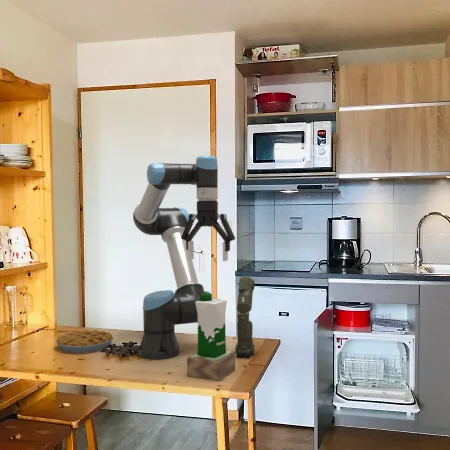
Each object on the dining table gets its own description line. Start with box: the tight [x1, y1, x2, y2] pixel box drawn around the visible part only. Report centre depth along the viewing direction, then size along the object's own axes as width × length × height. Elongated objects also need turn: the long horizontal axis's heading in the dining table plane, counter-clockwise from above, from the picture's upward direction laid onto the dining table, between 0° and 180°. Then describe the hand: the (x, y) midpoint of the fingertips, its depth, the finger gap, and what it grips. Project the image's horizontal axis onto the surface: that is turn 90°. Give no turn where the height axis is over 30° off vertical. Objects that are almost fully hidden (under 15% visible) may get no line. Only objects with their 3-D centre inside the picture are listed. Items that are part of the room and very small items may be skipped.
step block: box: [186, 350, 236, 382], centre depth 172 cm, size 12×12×6 cm
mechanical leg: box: [234, 276, 256, 359], centre depth 194 cm, size 14×7×30 cm, turn 168°
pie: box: [55, 329, 114, 354], centre depth 205 cm, size 22×22×5 cm
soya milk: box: [195, 292, 228, 358], centre depth 171 cm, size 9×9×20 cm
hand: (207, 260), depth 182 cm, fingers open, 13 cm apart
